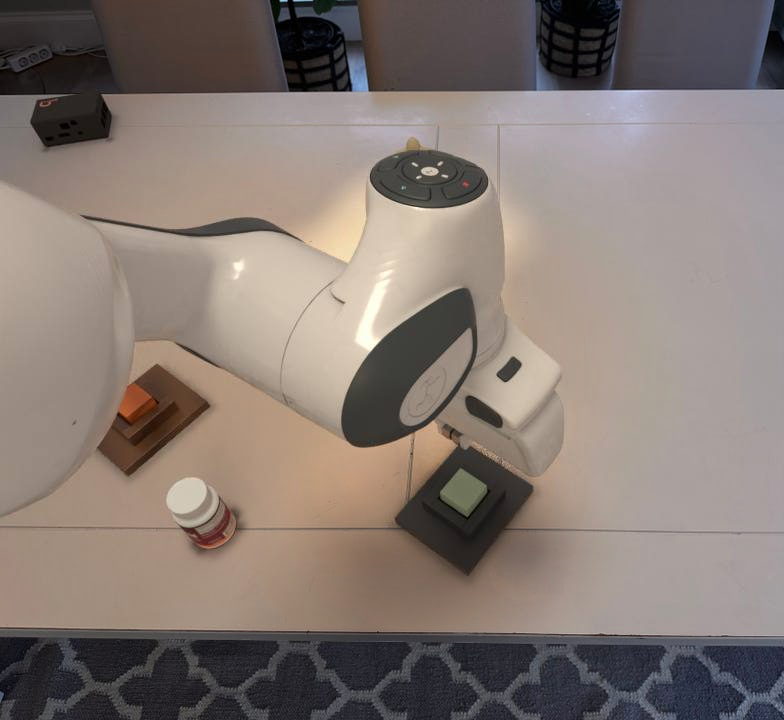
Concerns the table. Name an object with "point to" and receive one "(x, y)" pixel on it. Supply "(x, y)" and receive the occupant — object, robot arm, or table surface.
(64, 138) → the electronic device
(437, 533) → the dark grey stepped base
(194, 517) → the pill bottle
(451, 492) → the near key
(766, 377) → the table surface
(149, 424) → the brown button base
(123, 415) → the far key
